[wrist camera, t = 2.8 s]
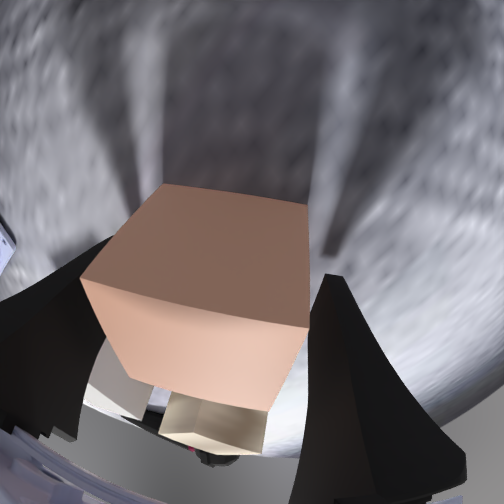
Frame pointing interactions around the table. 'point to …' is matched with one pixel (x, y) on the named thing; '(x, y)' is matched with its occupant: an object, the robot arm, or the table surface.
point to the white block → (116, 386)
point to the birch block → (214, 426)
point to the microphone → (152, 425)
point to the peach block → (206, 293)
